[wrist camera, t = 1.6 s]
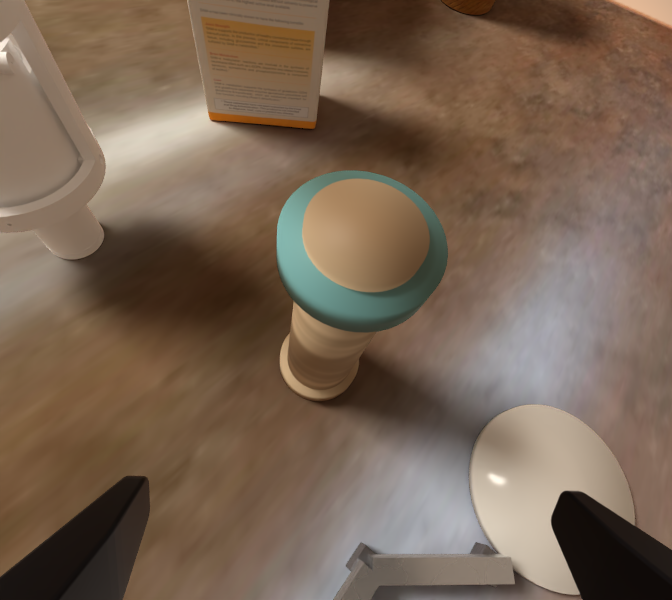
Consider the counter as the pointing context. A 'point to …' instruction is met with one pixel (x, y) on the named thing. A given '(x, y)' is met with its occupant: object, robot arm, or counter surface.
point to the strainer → (44, 144)
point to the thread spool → (351, 272)
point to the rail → (423, 570)
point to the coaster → (539, 486)
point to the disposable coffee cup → (470, 6)
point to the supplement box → (261, 59)
